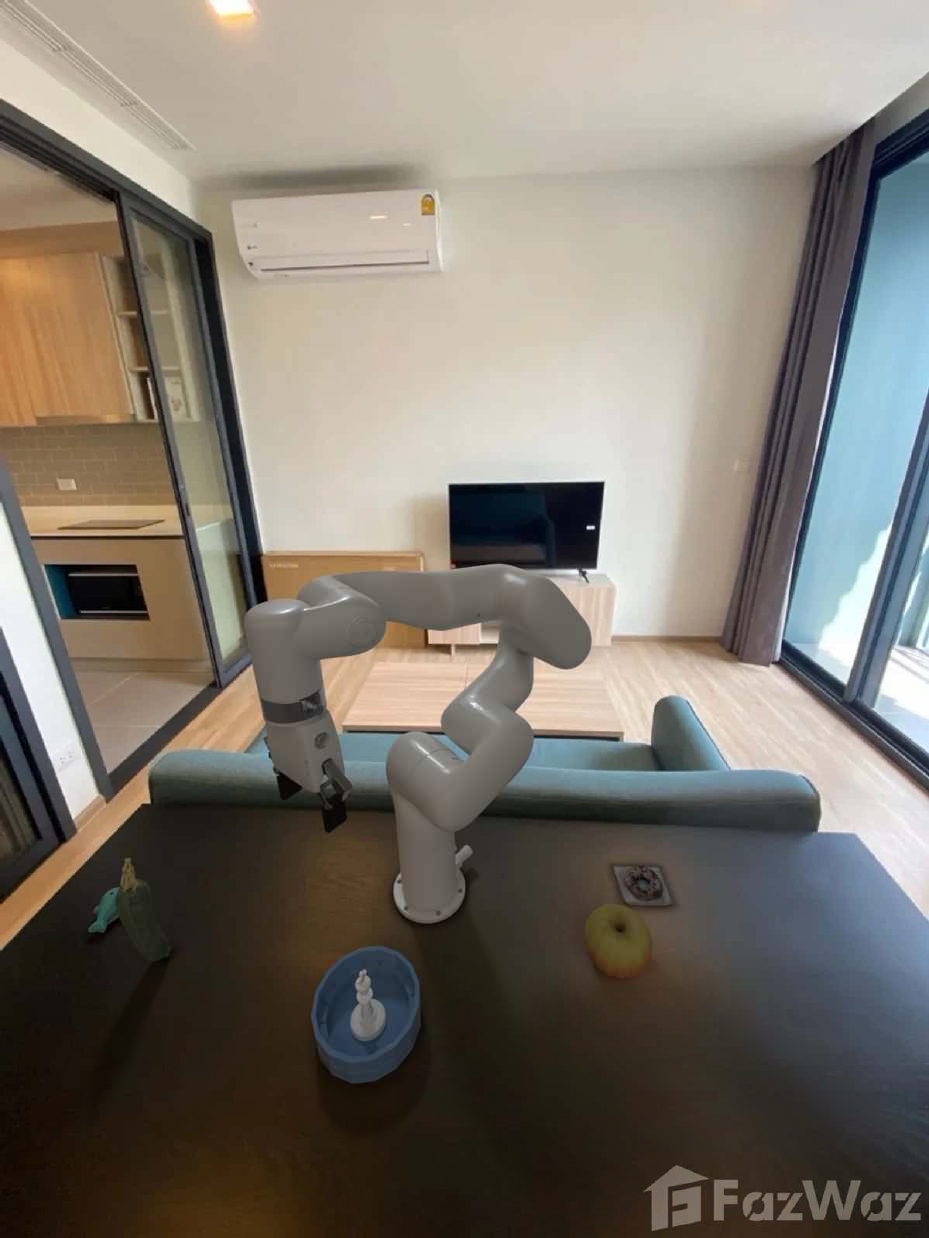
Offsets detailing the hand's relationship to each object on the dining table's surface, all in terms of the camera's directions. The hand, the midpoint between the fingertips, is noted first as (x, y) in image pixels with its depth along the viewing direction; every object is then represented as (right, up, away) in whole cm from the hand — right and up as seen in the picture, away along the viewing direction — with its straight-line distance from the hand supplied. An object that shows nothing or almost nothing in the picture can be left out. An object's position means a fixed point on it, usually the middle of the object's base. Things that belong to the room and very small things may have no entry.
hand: (313, 809), depth 67 cm
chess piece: (+7, -30, +1) cm, 31 cm away
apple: (+44, -26, +9) cm, 52 cm away
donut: (+52, -22, +21) cm, 60 cm away
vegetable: (-27, -28, +10) cm, 40 cm away
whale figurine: (-39, -25, +17) cm, 50 cm away
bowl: (+7, -30, +2) cm, 31 cm away
